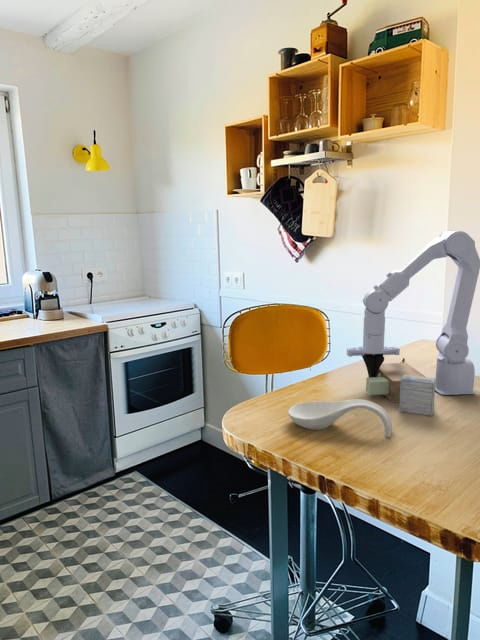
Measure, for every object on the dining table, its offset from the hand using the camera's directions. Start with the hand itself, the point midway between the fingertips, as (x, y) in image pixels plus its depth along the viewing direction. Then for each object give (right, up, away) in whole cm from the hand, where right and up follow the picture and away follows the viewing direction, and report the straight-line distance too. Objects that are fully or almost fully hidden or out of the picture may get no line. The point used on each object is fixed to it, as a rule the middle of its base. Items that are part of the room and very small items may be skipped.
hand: (371, 379), depth 141 cm
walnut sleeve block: (+7, -3, -3) cm, 8 cm away
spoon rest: (-15, -8, -26) cm, 31 cm away
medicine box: (+7, -6, -17) cm, 19 cm away
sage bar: (+2, -2, -7) cm, 7 cm away
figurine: (+12, 0, +12) cm, 17 cm away
